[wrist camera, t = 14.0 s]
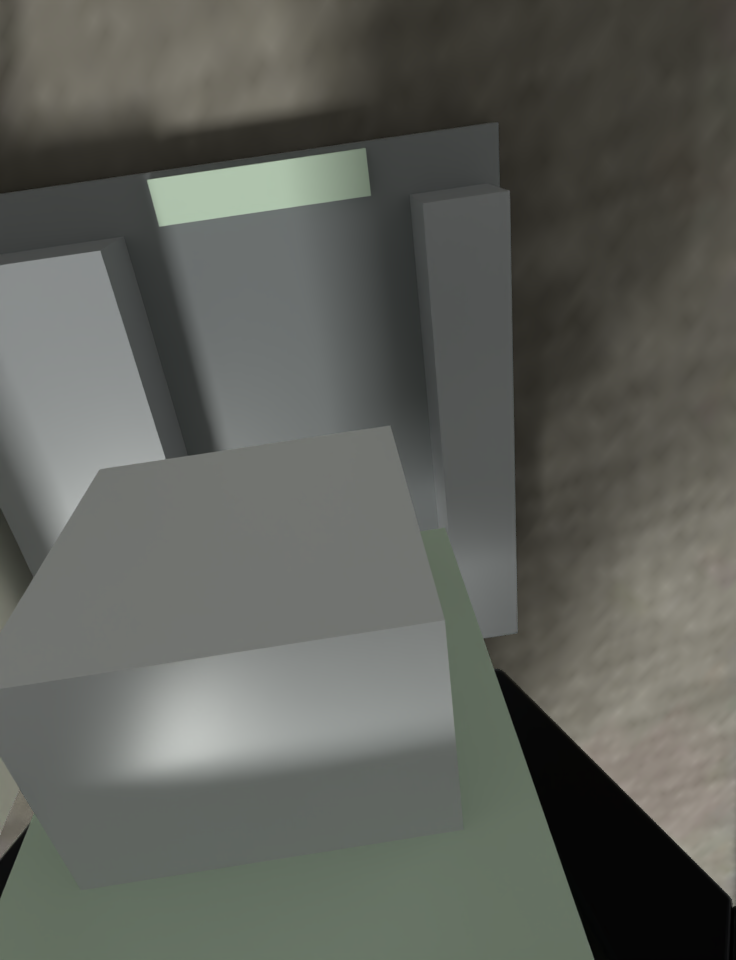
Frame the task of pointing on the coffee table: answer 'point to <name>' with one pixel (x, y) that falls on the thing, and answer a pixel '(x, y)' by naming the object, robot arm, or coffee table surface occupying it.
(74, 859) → the sage plug
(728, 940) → the robot arm
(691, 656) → the coffee table surface
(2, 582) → the cream plug
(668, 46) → the coffee table surface
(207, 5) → the coffee table surface
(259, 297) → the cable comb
